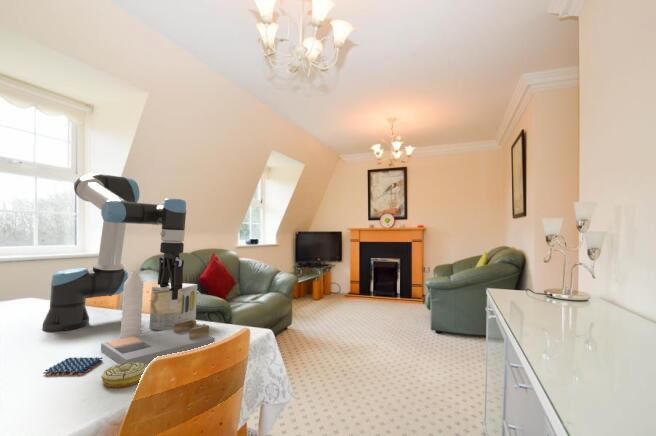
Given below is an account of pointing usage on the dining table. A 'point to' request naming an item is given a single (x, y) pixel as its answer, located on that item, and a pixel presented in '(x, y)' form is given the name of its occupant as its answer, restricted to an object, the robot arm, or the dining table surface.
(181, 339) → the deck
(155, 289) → the supplement box
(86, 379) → the dining table surface
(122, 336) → the water bottle
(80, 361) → the woven mat
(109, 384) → the decorated donut
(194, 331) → the walls
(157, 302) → the block
